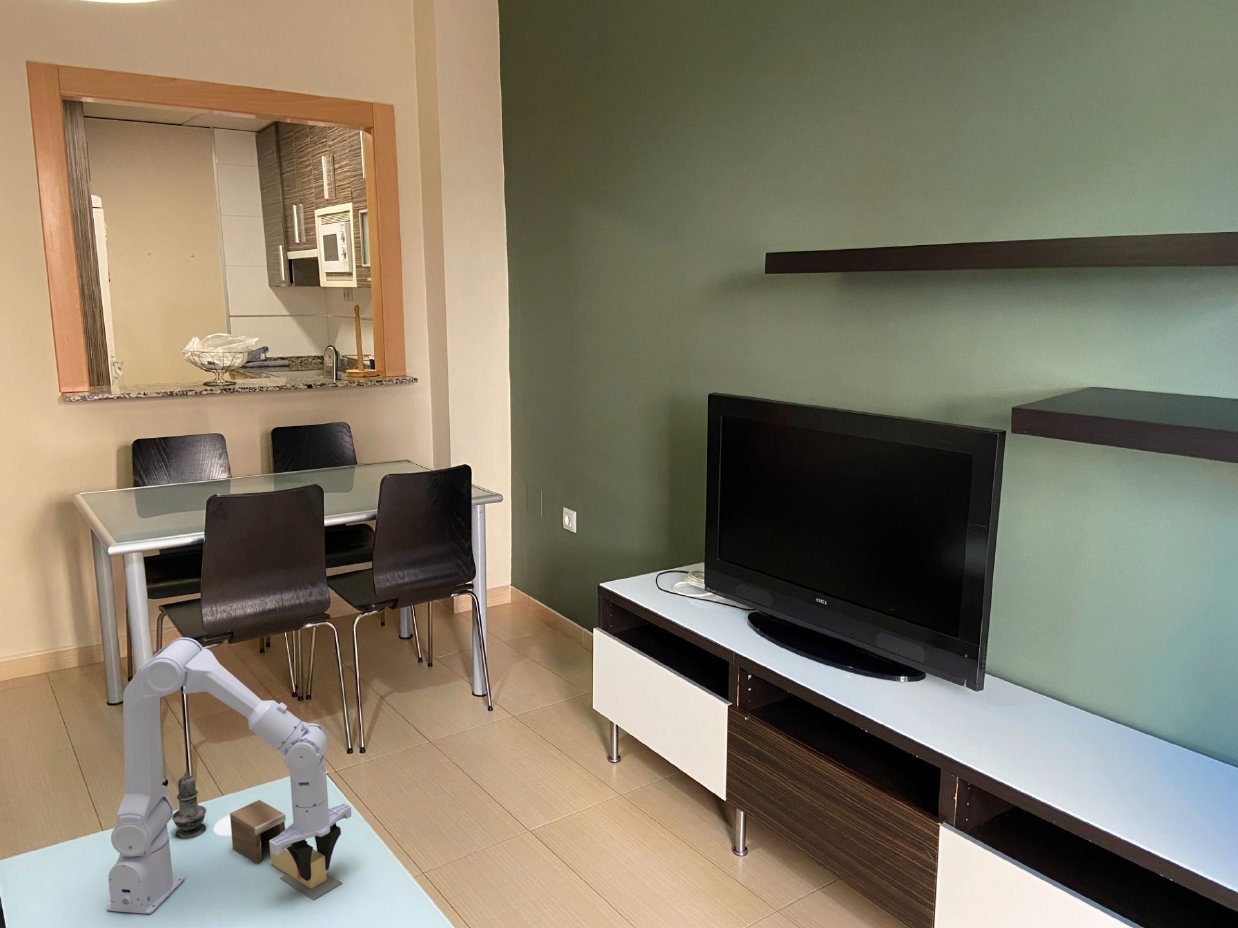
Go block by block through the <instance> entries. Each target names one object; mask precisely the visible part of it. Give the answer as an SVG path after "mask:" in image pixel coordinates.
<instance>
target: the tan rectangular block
mask: <svg viewBox="0 0 1238 928" xmlns="http://www.w3.org/2000/svg"><path fill="white" fill-rule="evenodd" d="M275 838H276V837H275ZM273 839H274V838H273ZM271 840H272V839H271ZM269 841H270V840H269ZM269 855H270V864H271V865H272V866H274V867H275V868H277V869H279V870H280V871H282V872H283V873H285V874H288V875H290V876H291V877H293V878H295V879H296V880H298V881H300V882H301V883H303V884H304V885H306V886H308V887H309V888H311V889H312V888H313V887H315V886H317V885H319V884H320V883H322V882H324V881H326V873H327V870H326V866H325V856H324V855H323V854H321V853H319V852H317V849H316V850H315V849H314V848H313V850H312V855H311V879H310V880H308V881H306V880H304V879H303V878H301V877H300V874H299V871H298V868H297V865H296V863H295V861H294V859H293V857H292V856H291V854H290V853H289V851H288V850H287V848H286V849H284V850H282V853H281V854H279V855H275V854H273V853H272V852H270V851H269Z"/></svg>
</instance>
